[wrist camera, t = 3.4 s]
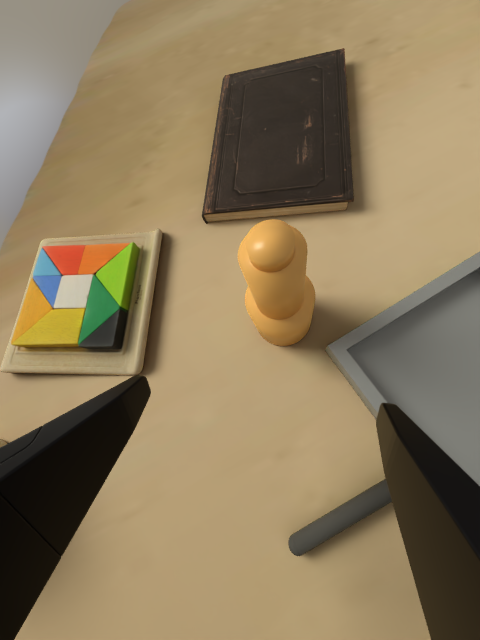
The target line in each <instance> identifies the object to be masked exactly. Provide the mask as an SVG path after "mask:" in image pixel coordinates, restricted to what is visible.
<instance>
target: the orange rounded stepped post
mask: <svg viewBox="0 0 480 640" xmlns="http://www.w3.org/2000/svg"><path fill="white" fill-rule="evenodd" d="M238 261H239V265H240V267H241V270H242V272H243V274H244V277H245V279H246V282H247V284H248V288H247V291H246V295H245V304H246V308H247V311H248V313H249V315H250V317H251V319H252V320H253V322H254V324H255V326H256V328H257V329H258V331H259V333H260V335H261V336H262V337H263V338H264V339H265V340H266V341H268V342H269V343H272V344H274V345H278V346H288V345H292V344H295V343H297V342H299V341H300V340H301V339H302V338H304V336H305V335H306V334H307V332H308V330H309V328H310V325H311V320H312V314H313V309H314V304H315V290H314V287H313V284H312V283H311V281H310V279H309V278H308V277H307V276H306V262H307V243H306V241H305V238H304V237H303V235H302V234H301V233H300V232H299V231H298V230H297V229H296V228H294V227H292V226H290V225H288V224H287V223H285V222H283V221H281V220H275V219H271V220H265V221H262V222H260V223H258V224H256V225H255V226H254V227H253V228H252V229H251V230H250V231H249V232H248V234H247V236H246V237H245V238H244V239H243V241H242V242H241V244H240V247H239V251H238Z"/></svg>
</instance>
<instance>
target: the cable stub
mask: <svg viewBox="0 0 480 640" xmlns="http://www.w3.org/2000/svg"><path fill="white" fill-rule="evenodd" d="M390 502H392V499H391V496H390V492H389V488H388V485H387V481H386V479H384V480H383V481H381V482H379V483H378V484H376V485H374V486H373V487H371V488H369V489H368V490H366V491H364V492H363V493H361V494H359V495H358V496H356V497H354V498H353V499H351V500H349V501H348V502H346V503H344V504H343V505H341V506H339V507H338V508H336V509H334V510H333V511H331V512H329V513H327V514H326V515H324V516H322V517H321V518H319V519H317V520H316V521H314V522H312V523H311V524H309V525H307V526H306V527H304V528H302V529H301V530H299V531H297V532H296V533H294V534H292V535H291V536H290V538H289V548H290V551H291V552H292V553H293V554H294V555H296V556H301V555H303V554H304V553H306V552H308V551H309V550H311V549H313V548H315V547H316V546H318V545H320V544H321V543H323V542H325V541H326V540H328V539H330V538H331V537H333V536H335V535H336V534H338V533H340V532H342V531H343V530H345V529H347V528H348V527H350V526H352V525H353V524H355V523H357V522H358V521H360V520H362V519H363V518H365V517H367V516H369V515H370V514H372V513H374V512H375V511H377V510H379V509H380V508H382V507H384V506H385V505H387V504H389V503H390Z"/></svg>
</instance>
